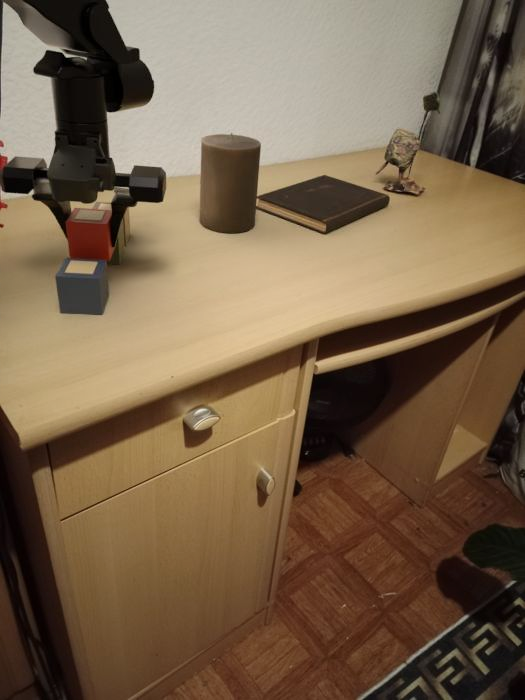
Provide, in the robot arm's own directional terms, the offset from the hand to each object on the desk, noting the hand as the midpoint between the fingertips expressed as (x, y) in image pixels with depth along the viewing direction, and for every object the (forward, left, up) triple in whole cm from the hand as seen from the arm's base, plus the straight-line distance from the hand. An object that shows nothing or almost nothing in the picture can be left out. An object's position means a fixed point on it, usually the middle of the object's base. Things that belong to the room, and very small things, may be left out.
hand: (92, 245), depth 71 cm
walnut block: (-7, +11, -5) cm, 14 cm away
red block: (0, 0, -1) cm, 1 cm away
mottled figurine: (+24, +71, -5) cm, 75 cm away
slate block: (+3, -6, -5) cm, 8 cm away
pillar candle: (+4, +29, -5) cm, 30 cm away
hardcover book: (+15, +48, -5) cm, 51 cm away
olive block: (-4, +6, -5) cm, 9 cm away
